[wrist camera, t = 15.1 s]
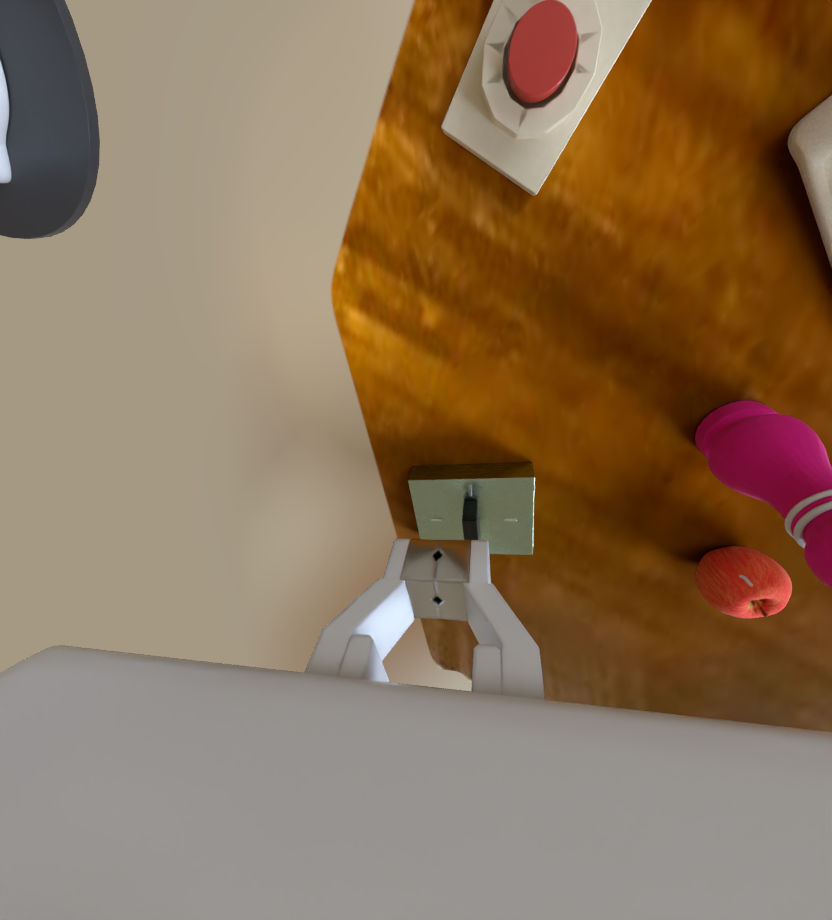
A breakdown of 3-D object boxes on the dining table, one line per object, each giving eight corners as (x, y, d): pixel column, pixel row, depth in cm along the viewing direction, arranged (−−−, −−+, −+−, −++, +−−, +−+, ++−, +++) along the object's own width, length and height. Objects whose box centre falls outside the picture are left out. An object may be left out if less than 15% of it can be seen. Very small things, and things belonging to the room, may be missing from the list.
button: (543, 117, 22) (546, 110, 21) (494, 81, 22) (495, 71, 20) (585, 39, 20) (592, 25, 19) (533, -2, 20) (536, -20, 18)
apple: (678, 544, 43) (711, 602, 37) (759, 525, 40) (812, 585, 33) (692, 584, 47) (725, 644, 40) (769, 569, 43) (819, 632, 37)
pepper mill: (800, 413, 33) (1106, 608, 16) (732, 470, 37) (922, 670, 21) (732, 382, 32) (978, 551, 16) (671, 443, 36) (817, 626, 20)
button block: (533, 196, 27) (539, 193, 24) (443, 133, 26) (437, 121, 23) (640, 15, 22) (666, -21, 18) (531, -75, 21) (539, -130, 17)
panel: (426, 536, 50) (422, 553, 47) (412, 465, 44) (407, 481, 41) (530, 537, 47) (532, 555, 44) (532, 461, 40) (534, 478, 38)
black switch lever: (463, 500, 41) (461, 522, 38) (477, 500, 41) (476, 522, 38) (467, 537, 44) (466, 560, 41) (480, 537, 44) (480, 561, 41)
